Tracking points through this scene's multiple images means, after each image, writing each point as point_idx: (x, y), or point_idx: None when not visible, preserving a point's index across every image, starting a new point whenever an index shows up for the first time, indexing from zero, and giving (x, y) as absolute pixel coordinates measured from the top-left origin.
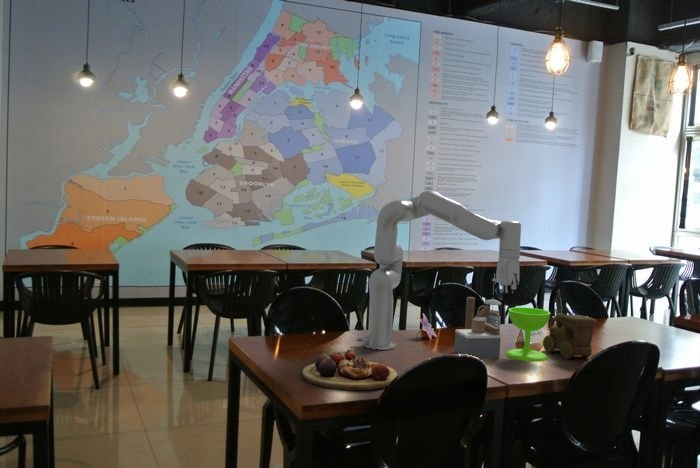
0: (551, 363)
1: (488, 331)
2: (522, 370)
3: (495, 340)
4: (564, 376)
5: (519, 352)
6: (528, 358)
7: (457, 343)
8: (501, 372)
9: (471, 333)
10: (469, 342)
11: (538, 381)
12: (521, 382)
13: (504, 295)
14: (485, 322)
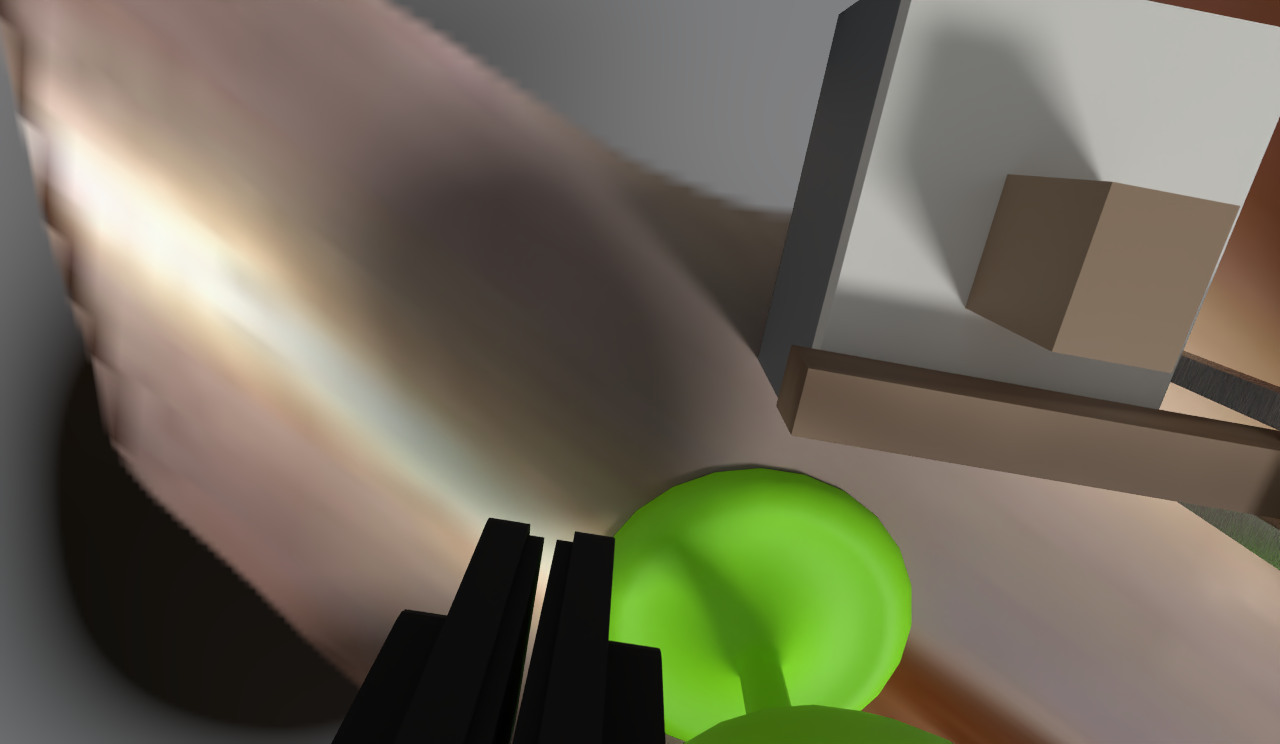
0: None
1: (967, 377)
2: (378, 305)
3: None
4: (180, 510)
5: (770, 580)
6: (623, 551)
7: None
8: (350, 73)
9: (1014, 117)
10: (881, 17)
11: (64, 219)
12: (42, 47)
13: (428, 667)
14: (1194, 491)
